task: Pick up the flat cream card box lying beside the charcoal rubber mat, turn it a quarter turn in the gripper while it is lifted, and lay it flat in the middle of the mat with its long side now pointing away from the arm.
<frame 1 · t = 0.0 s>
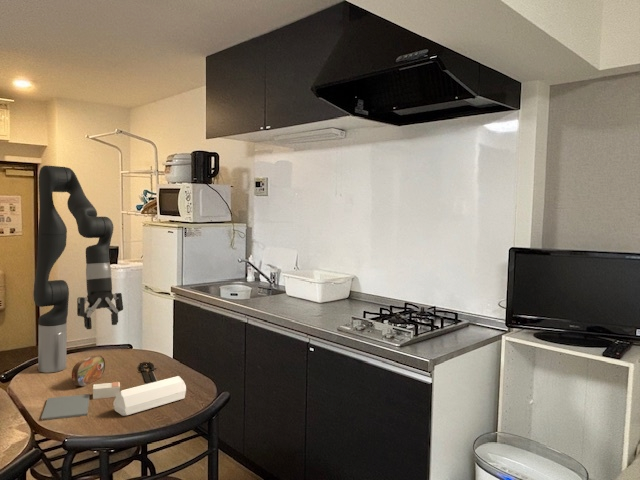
hand: (101, 326, 161), 22 cm above the table, tool pointing down, fingers open, 8 cm apart
card box: (106, 396, 162), on the table
crystal: (150, 405, 156), on the table
tin: (88, 382, 173), on the table
mat: (66, 407, 151), on the table
knife: (149, 375, 184), on the table
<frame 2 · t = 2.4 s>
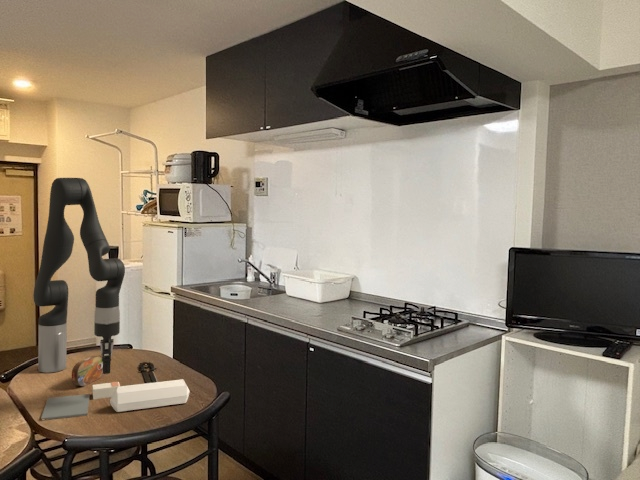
hand: (106, 369, 161), 9 cm above the table, tool pointing down, fingers open, 8 cm apart
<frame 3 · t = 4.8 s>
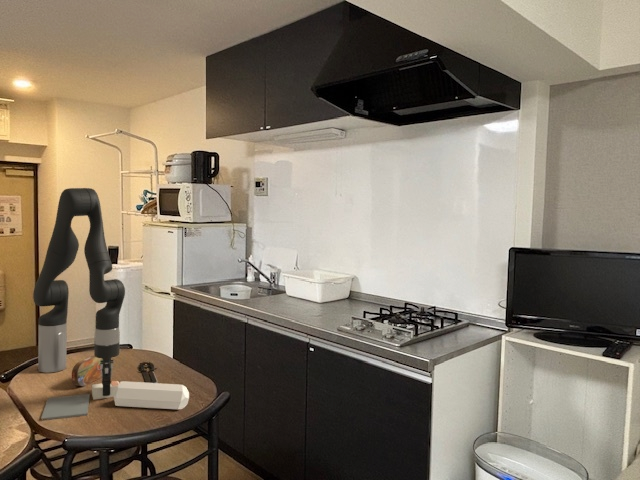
hand: (106, 392, 162), 1 cm above the table, tool pointing down, fingers closed on card box, 5 cm apart
card box: (105, 395, 162), on the table, touching gripper
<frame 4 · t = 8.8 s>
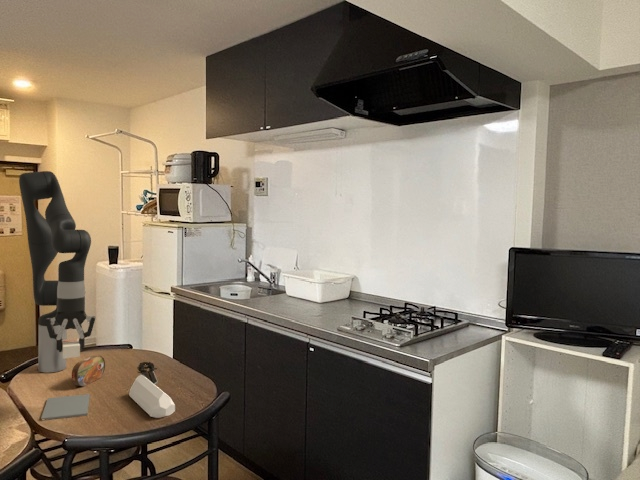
hand: (70, 350, 151), 17 cm above the table, tool pointing down, fingers closed on card box, 5 cm apart
card box: (70, 354, 151), point 16 cm above the table, touching gripper
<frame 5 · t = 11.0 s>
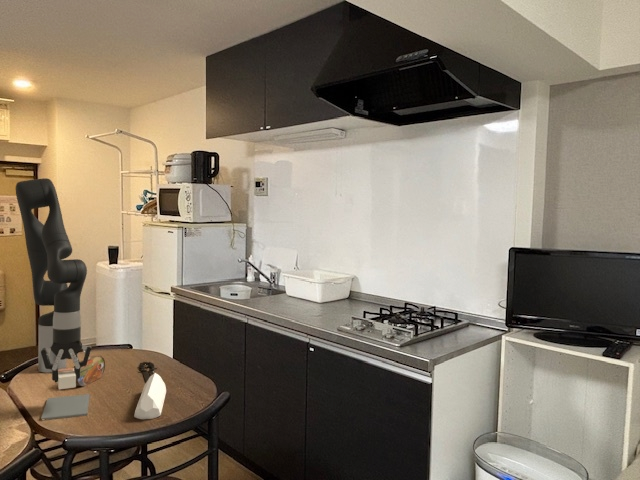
hand: (66, 380, 150), 8 cm above the table, tool pointing down, fingers closed on card box, 5 cm apart
card box: (66, 384, 150), point 7 cm above the table, touching gripper
when the fingers open (2 cm above the table, at t = 13.0 s): card box stays where it is, resting on mat.
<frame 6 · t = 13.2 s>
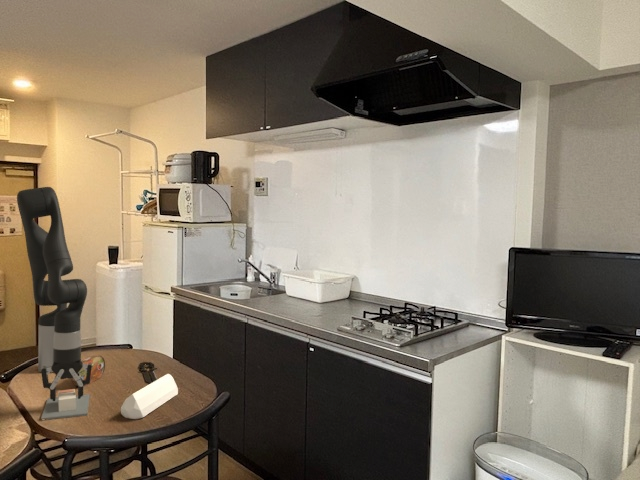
hand: (67, 398, 151), 3 cm above the table, tool pointing down, fingers open, 6 cm apart
card box: (66, 405, 151), point 1 cm above the table, touching mat
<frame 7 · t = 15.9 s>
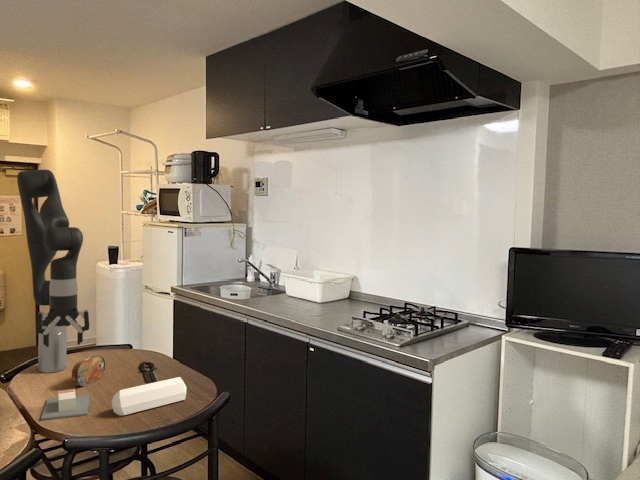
hand: (63, 345, 151), 19 cm above the table, tool pointing down, fingers open, 8 cm apart
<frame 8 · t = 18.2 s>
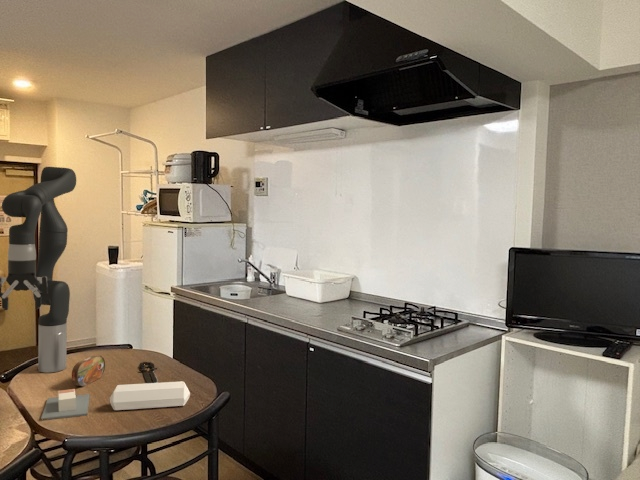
hand: (22, 309, 157), 28 cm above the table, tool pointing down, fingers open, 8 cm apart
at the end: card box inside the target area on the mat (0.1 cm from its centre), point 0.6 cm above the mat's base; card box tilted 0°; the gripper is holding nothing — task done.
